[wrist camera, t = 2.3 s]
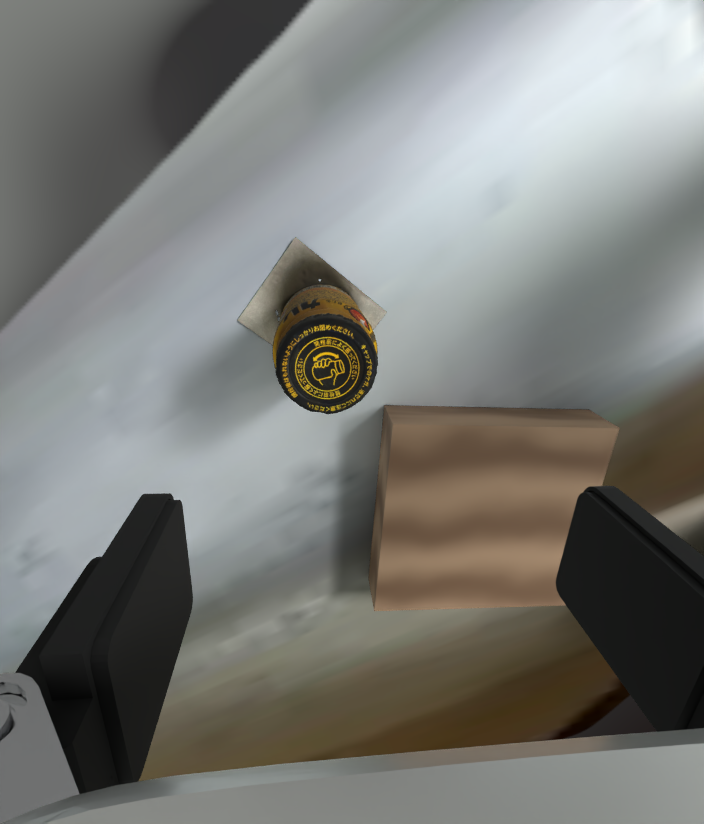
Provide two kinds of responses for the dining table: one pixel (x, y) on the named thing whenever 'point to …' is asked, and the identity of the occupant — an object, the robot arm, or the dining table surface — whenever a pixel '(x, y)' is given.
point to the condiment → (316, 331)
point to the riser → (479, 503)
